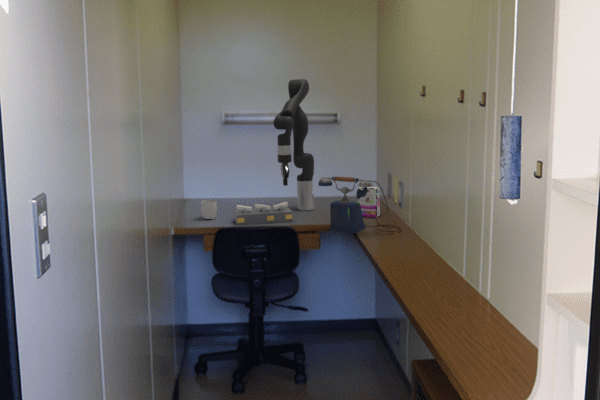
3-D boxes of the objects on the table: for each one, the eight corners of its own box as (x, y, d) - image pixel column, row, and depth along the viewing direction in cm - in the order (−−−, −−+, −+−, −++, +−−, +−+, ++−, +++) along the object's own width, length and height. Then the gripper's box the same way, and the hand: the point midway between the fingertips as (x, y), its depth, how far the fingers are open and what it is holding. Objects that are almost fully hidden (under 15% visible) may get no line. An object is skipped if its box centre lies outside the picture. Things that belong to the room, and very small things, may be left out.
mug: (219, 219, 353) (218, 201, 351) (203, 221, 350) (202, 203, 348) (214, 215, 365) (213, 198, 363) (199, 216, 362) (198, 199, 360)
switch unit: (287, 216, 357) (287, 202, 355) (292, 221, 343) (292, 207, 342) (234, 220, 351) (233, 205, 349) (237, 225, 337) (236, 210, 335)
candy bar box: (380, 216, 351) (380, 186, 348) (377, 218, 346) (377, 188, 343) (361, 214, 356) (361, 185, 353) (358, 216, 352) (357, 187, 349)
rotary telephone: (406, 228, 322) (407, 175, 317) (390, 237, 303) (390, 181, 298) (335, 220, 343) (334, 170, 338) (315, 229, 324) (314, 176, 319)
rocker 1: (250, 209, 346) (251, 206, 346) (251, 211, 343) (252, 208, 342) (236, 207, 344) (236, 204, 344) (237, 209, 341) (237, 206, 340)
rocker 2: (287, 204, 350) (286, 201, 350) (288, 205, 346) (287, 202, 346) (273, 208, 349) (272, 205, 349) (274, 209, 345) (273, 206, 345)
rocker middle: (269, 208, 348) (269, 205, 348) (270, 209, 345) (270, 207, 344) (254, 206, 347) (255, 203, 346) (255, 207, 343) (256, 205, 342)
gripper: (293, 154, 337) (294, 186, 340) (288, 151, 350) (289, 183, 353) (279, 155, 336) (280, 187, 339) (275, 152, 348) (276, 183, 352)
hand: (285, 185), depth 346 cm, fingers closed
